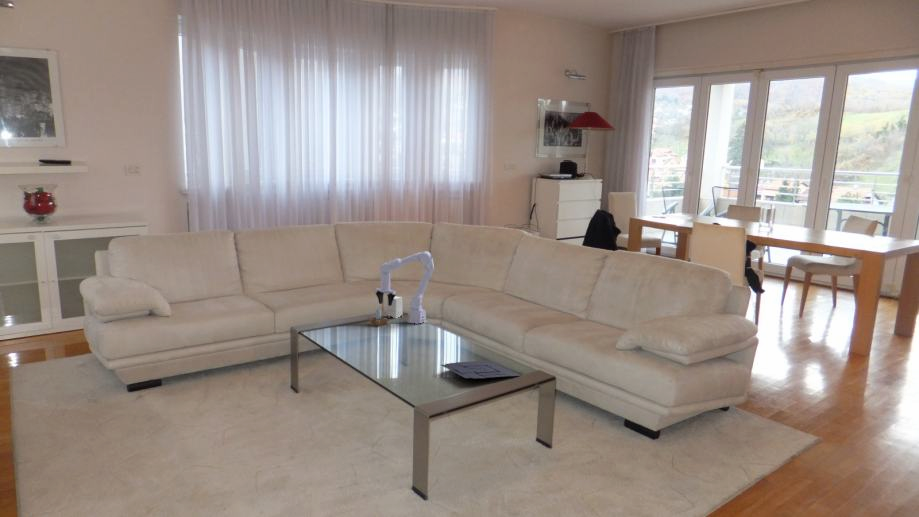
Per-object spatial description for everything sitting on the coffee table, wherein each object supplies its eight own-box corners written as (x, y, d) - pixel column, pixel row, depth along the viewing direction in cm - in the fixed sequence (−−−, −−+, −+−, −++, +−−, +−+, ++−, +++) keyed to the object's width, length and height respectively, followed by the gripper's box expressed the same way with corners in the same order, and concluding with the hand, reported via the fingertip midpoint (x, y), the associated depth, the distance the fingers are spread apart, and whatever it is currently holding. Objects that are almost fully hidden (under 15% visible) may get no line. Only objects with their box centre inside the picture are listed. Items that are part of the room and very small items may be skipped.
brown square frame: (387, 324, 351) (387, 318, 351) (378, 326, 345) (378, 320, 345) (378, 322, 356) (378, 316, 355) (369, 324, 349) (369, 318, 349)
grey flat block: (436, 369, 268) (437, 361, 268) (488, 366, 285) (489, 359, 285) (467, 385, 248) (468, 377, 248) (520, 381, 265) (521, 373, 265)
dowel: (382, 324, 351) (382, 309, 349) (378, 325, 348) (378, 310, 347) (378, 323, 353) (378, 309, 351) (374, 324, 350) (374, 309, 349)
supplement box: (402, 316, 372) (403, 297, 370) (395, 318, 366) (395, 299, 364) (393, 314, 376) (393, 295, 374) (386, 317, 369) (386, 297, 368)
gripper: (372, 282, 357) (372, 303, 358) (390, 285, 348) (390, 307, 350) (380, 280, 362) (380, 302, 364) (398, 283, 354) (397, 305, 356)
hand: (385, 304), depth 358 cm, fingers open, 7 cm apart
